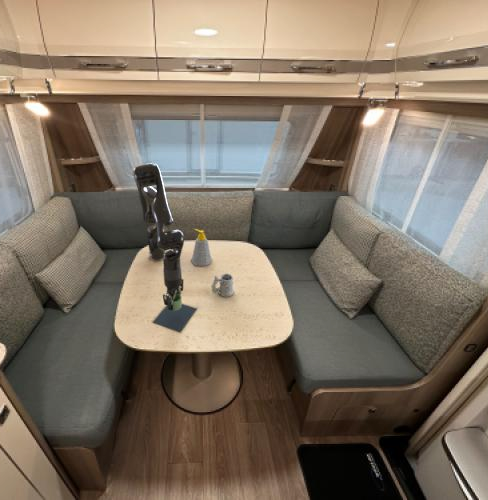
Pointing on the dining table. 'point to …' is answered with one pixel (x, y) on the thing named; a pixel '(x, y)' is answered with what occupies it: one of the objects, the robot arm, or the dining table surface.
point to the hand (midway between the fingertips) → (174, 304)
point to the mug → (223, 285)
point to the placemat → (175, 317)
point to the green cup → (177, 302)
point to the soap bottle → (201, 251)
